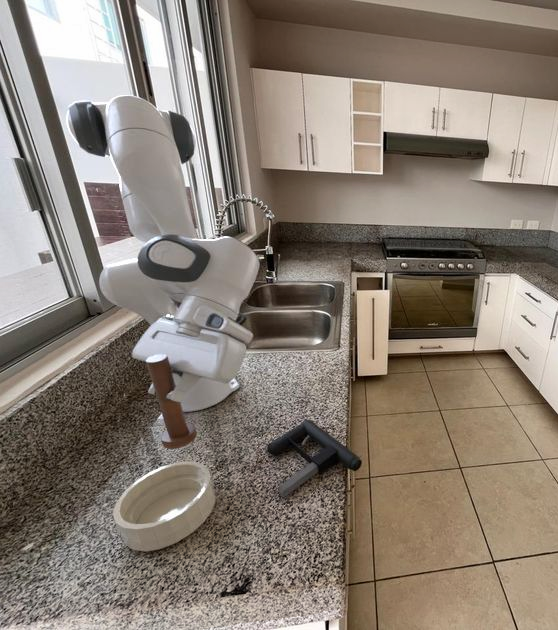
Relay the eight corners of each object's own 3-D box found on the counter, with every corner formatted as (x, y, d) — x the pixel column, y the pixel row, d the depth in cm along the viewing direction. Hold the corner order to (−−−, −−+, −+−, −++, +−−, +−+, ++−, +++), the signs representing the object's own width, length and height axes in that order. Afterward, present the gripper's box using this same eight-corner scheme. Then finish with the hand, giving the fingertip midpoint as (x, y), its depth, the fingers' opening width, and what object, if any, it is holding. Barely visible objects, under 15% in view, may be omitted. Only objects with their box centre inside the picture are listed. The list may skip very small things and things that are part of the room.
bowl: (131, 502, 64) (122, 478, 62) (215, 474, 70) (209, 451, 68) (116, 570, 53) (104, 544, 51) (217, 530, 59) (210, 505, 57)
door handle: (298, 507, 61) (366, 452, 72) (246, 452, 73) (311, 412, 84) (301, 519, 62) (367, 464, 74) (249, 463, 74) (313, 423, 85)
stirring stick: (164, 434, 61) (139, 354, 55) (197, 425, 63) (176, 348, 57) (161, 453, 57) (134, 369, 51) (197, 442, 59) (174, 361, 53)
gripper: (147, 305, 61) (101, 380, 56) (236, 322, 55) (194, 408, 50) (177, 319, 67) (138, 388, 62) (261, 337, 61) (225, 415, 56)
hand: (163, 397), depth 56 cm, fingers closed on stirring stick, 3 cm apart
